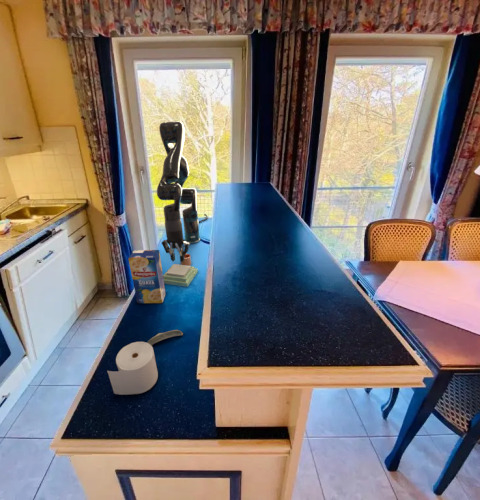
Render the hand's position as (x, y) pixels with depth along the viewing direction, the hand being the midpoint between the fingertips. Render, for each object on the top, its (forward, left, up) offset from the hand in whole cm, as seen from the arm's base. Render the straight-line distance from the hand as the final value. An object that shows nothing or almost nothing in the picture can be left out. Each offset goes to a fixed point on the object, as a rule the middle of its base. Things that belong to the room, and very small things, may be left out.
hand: (177, 260), depth 134 cm
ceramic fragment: (+41, +12, -9) cm, 44 cm away
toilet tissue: (+58, +12, -9) cm, 60 cm away
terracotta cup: (-13, -2, -9) cm, 16 cm away
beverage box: (+19, -5, -9) cm, 22 cm away
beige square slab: (0, 0, -6) cm, 6 cm away
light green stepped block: (0, 0, -9) cm, 9 cm away
